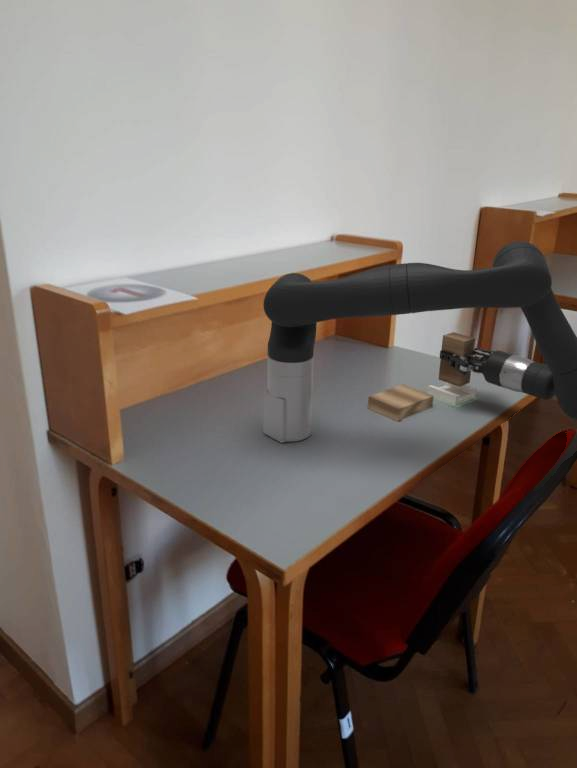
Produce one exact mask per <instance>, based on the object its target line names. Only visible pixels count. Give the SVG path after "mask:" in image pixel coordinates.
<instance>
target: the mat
mask: <svg viewBox="0 0 577 768" xmlns="http://www.w3.org/2000/svg"><path fill="white" fill-rule="evenodd" d="M426 393H428V391H427V392H426ZM479 399H480V397H478V396H476V395H475V398H472V399H470V400H467V401H465V402H462V403H460V404H458V405H452V404H450V403H447V402H444V401H442V400H439V399H437V398H434V397H433V400H436V401H439V402H442V403H444V404H447V405H449V406H452V407H454V408H460V407H462V406H465V405H467V404H469V403H472V402H475V401H476V400H479Z"/></svg>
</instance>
